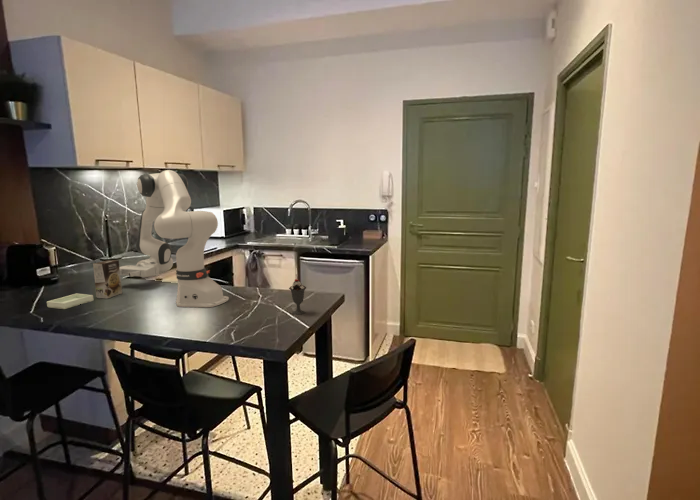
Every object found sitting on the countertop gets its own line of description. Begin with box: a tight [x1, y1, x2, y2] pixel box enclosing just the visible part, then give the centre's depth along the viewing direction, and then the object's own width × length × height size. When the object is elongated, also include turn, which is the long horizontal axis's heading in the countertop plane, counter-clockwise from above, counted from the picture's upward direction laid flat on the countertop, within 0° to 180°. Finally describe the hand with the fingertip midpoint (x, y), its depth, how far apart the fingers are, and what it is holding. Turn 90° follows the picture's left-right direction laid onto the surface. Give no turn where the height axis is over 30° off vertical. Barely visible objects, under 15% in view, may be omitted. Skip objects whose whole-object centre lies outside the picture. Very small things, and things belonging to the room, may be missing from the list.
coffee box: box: [92, 259, 123, 299], centre depth 190 cm, size 9×6×16 cm
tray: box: [46, 293, 94, 310], centre depth 179 cm, size 10×13×2 cm
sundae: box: [288, 274, 307, 316], centre depth 161 cm, size 7×7×15 cm
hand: (122, 274), depth 197 cm, fingers open, 8 cm apart
